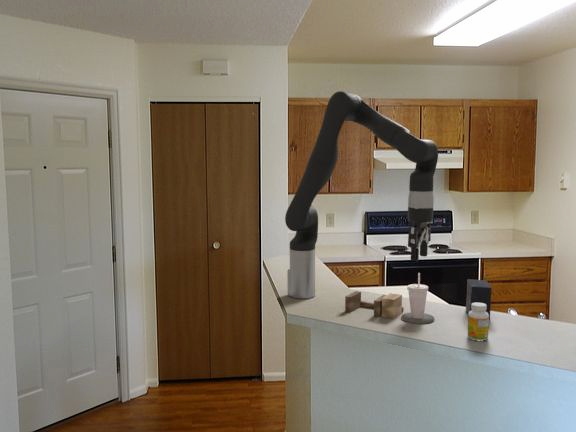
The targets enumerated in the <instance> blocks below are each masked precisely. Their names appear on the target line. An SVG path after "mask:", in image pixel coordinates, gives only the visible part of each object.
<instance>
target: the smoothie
mask: <svg viewBox="0 0 576 432" xmlns="http://www.w3.org/2000/svg"><path fill="white" fill-rule="evenodd" d="M417 282H418V283H412V284H408V285H407V291H408V298H409V307H410V313H411V317H413V318H418V319H420V318H423V317H424V313H425V309H426V302H427V295H428V291H429V286H428V285H426V284H421V273H420V272H418V273H417Z"/></svg>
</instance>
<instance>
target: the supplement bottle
mask: <svg viewBox="0 0 576 432" xmlns="http://www.w3.org/2000/svg"><path fill="white" fill-rule="evenodd" d="M471 309H472V310H471V311H470V312H469V313H468V314H467V318H468V319H467V338H468V339H469V338H470V339H469V340H471V339H472V341H474V340H486V339H487V340H489V323H490V322H489V321H490V320H489V314H488V313H487V312H486V309H487V305H486V304H484V303H478V302H476V303H472V304H471ZM487 340H486V341H487Z"/></svg>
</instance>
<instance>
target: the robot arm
mask: <svg viewBox="0 0 576 432" xmlns="http://www.w3.org/2000/svg"><path fill="white" fill-rule="evenodd" d="M345 122H353V123H356V124H358V125H361V126H363V127H365V128H367V129H368V130H369V131H371V133H372V134H374V136H376V138H378V139H379V140H380V141H382V142H383V143H385V144H386V145H388V146H390V147H392V148H393V149H395V150H396V151H398V153H399V154H401V155H402V156H403V157H404V158H405V159H406V160H407V161H409V162H413V163H414V164H415V167H414V168H415V169H414V171H413V172H411V173H410V174H409V175H410V176H409V186H408V187H409V189H408V190H409V192H408V198H407V200H408V201H407V220H408V222H410V223H412V226H408V234H407V235H408V236H407V238H408V240H407V247H408V248H410V261H412V262H418V261H419V260H420V259H419V258H420V257H427V256H428V246H429V243H430V242H431V240H432V239H431V237H432V235H431V233H432V230H431V227H432V224H431V223H432V222H433V221H434V203H435V202H434V200H435V199H434V198H435V197H434V176H435V174H436V173H435V172H436V167H437V164H438V160H439V159H438V158H439V149H438V145H437V144H436V143H435V141H433V140H431V139H420V138H418V137H416V136H415V135H413V134H412V132H411V131H410V130H409V129H408V128H406V127H404V126H403V125H401V124H400V123H398V122H396V121H394V120H392V119H390V118H389V117H386V115H383V114H382V113H380V112H378V111H377V110H375V109H374V108H373V107H372V106H370V105H369V104H368V103H367V102H366V101H365V100H364V99H362V98H361V97H360V96H359V95H357V94H355V93H353V92H348V91H343V90H341V91H336V92H334V93H333V94H332V95H331V96H330V98H329V100H328V102H327V106H326V109H325V112H324V115H323V120H322V122H321V126H320V129H319V132H318V134H317V135H318V136H317V138H316V142H315V143H314V147H313V148H312V150H311V153H310V156H309V159H308V162H307V164H306V168H305V169H304V173H303V175H302V177H301V180H300V182H299V186H298V187H297V190H296V192H295V194H294V196H293V198H292V200H291V201H290V204H289V206H288V207H287V210H286V213H285V217H284V220H285V222H284V223H285V225H286V227H287V228H288V229H289V230H290V231H291V232H296V233H295V235H294V237H293V238H292V239H291V240H290V241H289V269H288V270H287V273H286V274H287V296H289V297H291V298H295V299H311V298H314V297H315V296H316V244H317V241H318V236H319V235H318V234H319V214H318V211H317V209H316V208H315V207H314V205H312V204H313V202H314V200H315V198H316V197H317V195H319V193H320V192H321V190H322V189H323V188H324V187H325V186H326V185H327V184H328V182H329V180H330V179H331V177H332V175H333V173H334V171H335V167H336V166H337V162H338V158H339V150H338V148H339V147H338V146H339V145H338V141H339V135H340V132H341V129H342V127H343V124H344V123H345ZM419 256H420V257H419Z"/></svg>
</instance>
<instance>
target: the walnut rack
mask: <svg viewBox="0 0 576 432" xmlns="http://www.w3.org/2000/svg"><path fill="white" fill-rule="evenodd" d="M344 298H345V300H344V304H345V305H344V307H345V309H344V311H345V312H348V313H352V312H354V311H355V310H357V309H358V308H360V307H363V308H371V309H373V317H377V318H379V317H382V318H386V319H387V318H389V319H396V318H397V317H398V316H400V315H402V313H404V310H405V308H404V306H403V295H402V294H398V293H388V294H387V295H386V294H382V295H381V296H379V297H377V298H376V299H374V300H373V302H371V301H363V300H362V291H358V290H354V291H353V292H351V293H350V294H346V295H345V296H344Z"/></svg>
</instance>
